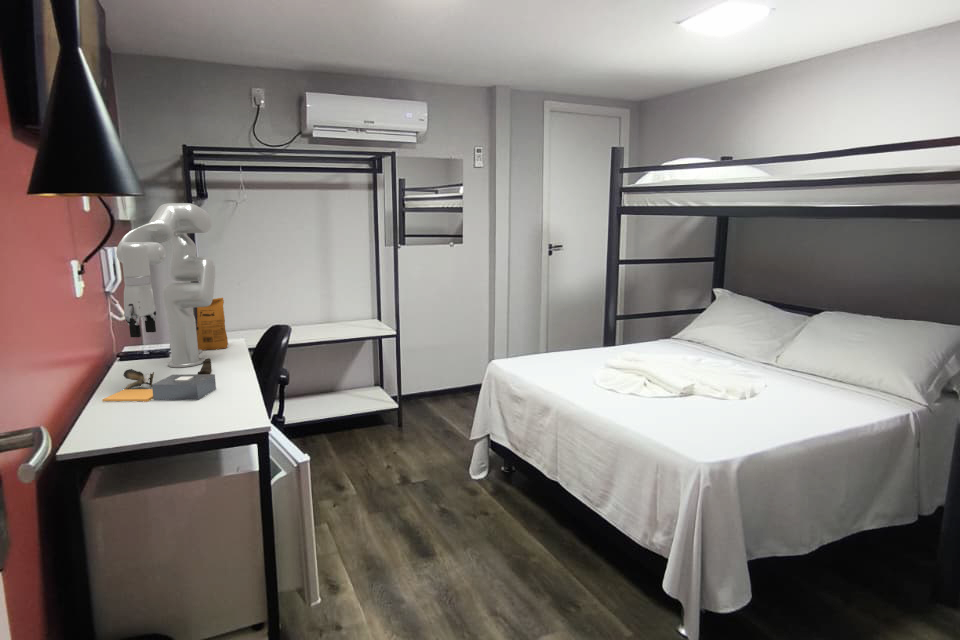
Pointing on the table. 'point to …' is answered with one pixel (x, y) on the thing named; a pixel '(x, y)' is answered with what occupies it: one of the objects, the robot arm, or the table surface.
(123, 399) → the pad
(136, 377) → the eagle figurine
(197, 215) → the robot arm
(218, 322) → the coffee package
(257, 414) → the table surface
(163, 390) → the breaker box
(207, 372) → the hand tool
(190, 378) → the button
